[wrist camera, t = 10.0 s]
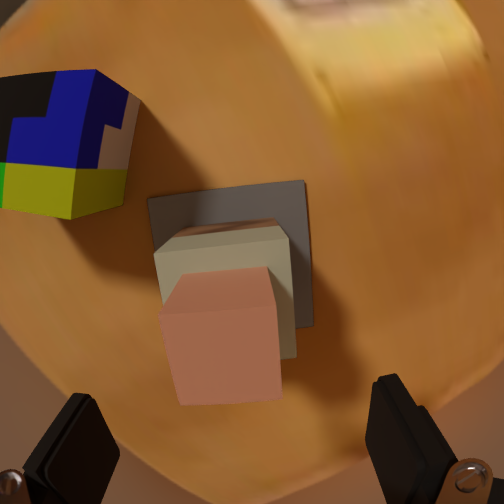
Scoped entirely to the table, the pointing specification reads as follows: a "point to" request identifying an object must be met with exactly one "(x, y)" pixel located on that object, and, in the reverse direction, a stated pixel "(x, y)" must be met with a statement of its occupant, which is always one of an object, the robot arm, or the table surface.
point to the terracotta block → (223, 337)
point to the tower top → (235, 267)
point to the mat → (246, 208)
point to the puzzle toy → (64, 142)
